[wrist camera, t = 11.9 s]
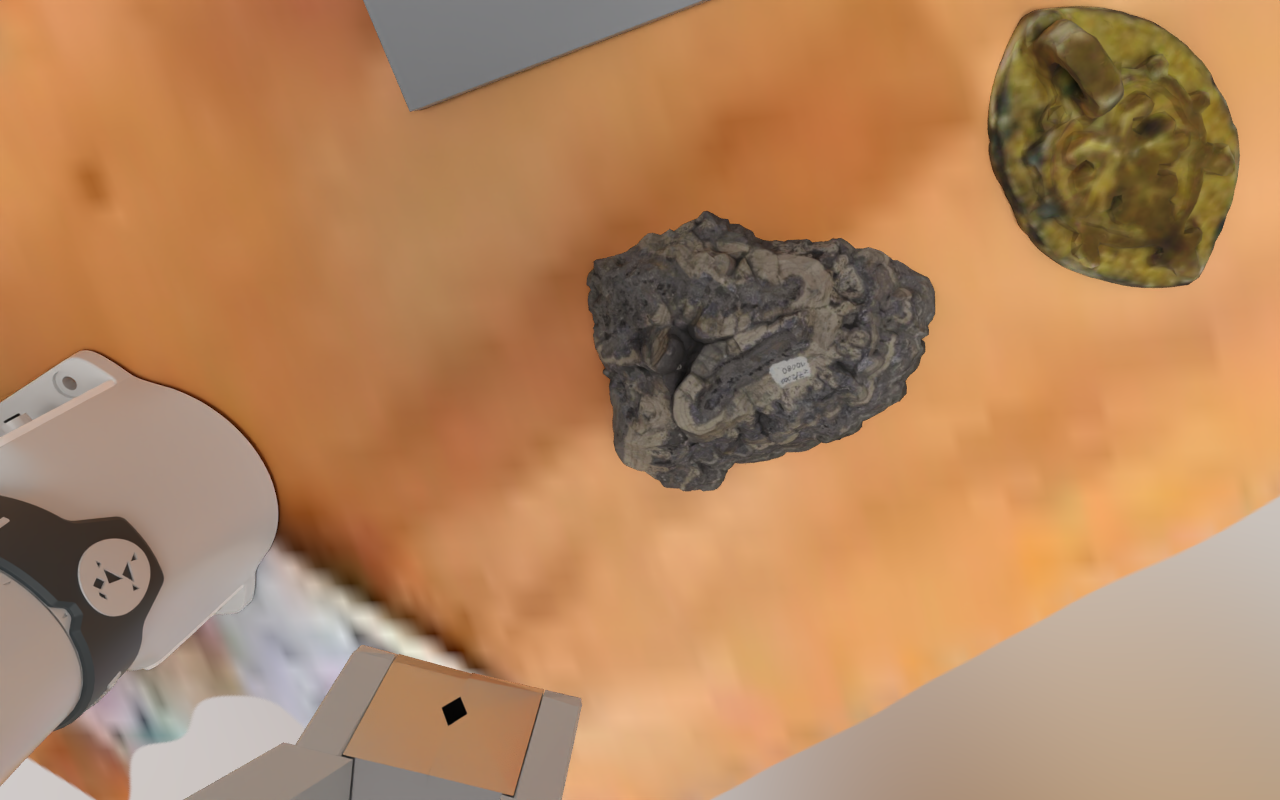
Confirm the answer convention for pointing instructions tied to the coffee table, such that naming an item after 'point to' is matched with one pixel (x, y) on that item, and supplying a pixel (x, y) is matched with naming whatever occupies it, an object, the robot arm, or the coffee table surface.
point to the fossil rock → (749, 345)
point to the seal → (1112, 146)
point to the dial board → (494, 37)
